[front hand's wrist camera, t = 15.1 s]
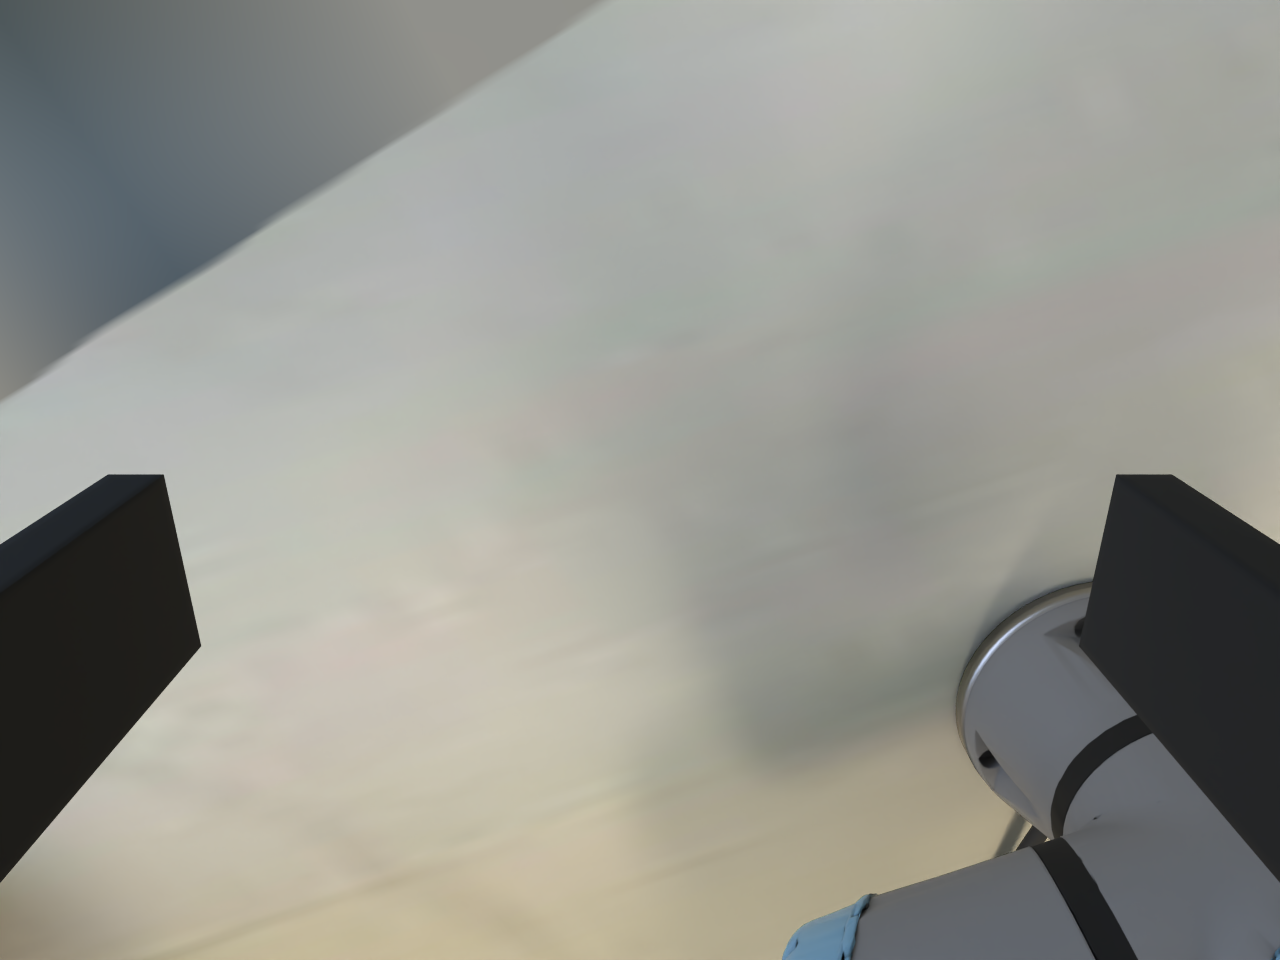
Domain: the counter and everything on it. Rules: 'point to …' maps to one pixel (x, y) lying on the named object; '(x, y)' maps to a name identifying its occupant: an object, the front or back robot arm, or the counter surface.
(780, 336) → the counter surface
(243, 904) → the counter surface
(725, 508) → the counter surface
